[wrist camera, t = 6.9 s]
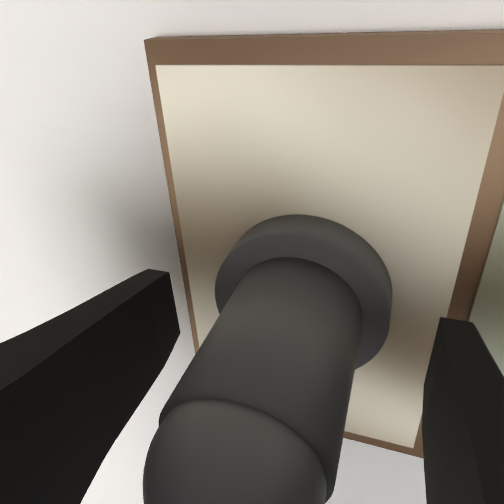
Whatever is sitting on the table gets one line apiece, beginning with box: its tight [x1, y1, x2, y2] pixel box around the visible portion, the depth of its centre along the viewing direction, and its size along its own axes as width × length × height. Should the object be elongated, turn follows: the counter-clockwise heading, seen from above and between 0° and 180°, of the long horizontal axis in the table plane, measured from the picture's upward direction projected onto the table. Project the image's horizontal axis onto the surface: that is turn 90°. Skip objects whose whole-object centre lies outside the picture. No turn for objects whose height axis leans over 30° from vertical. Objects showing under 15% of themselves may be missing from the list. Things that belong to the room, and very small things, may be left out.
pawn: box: [143, 214, 393, 504], centre depth 9 cm, size 4×4×7 cm
